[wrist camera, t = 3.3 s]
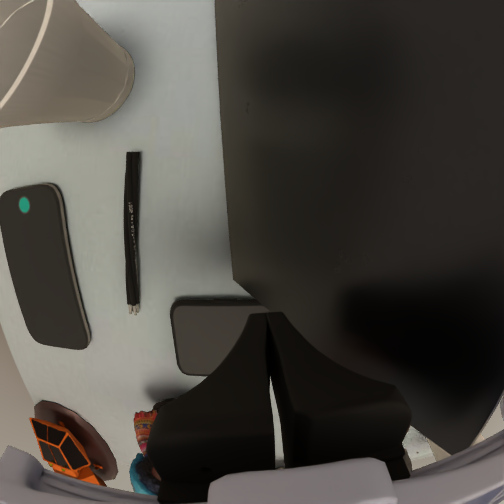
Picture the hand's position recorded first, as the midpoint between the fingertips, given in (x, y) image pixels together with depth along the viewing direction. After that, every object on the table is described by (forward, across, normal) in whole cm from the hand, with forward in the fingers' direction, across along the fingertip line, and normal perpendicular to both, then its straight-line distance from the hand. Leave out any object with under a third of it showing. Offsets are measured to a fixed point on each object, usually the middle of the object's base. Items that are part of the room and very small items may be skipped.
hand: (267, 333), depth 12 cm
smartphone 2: (+10, 0, +7) cm, 13 cm away
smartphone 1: (+10, +19, 0) cm, 21 cm away
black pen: (+10, +9, -2) cm, 14 cm away
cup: (+11, +11, -14) cm, 21 cm away
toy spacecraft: (+11, +27, +27) cm, 40 cm away
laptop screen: (+1, -3, -10) cm, 10 cm away
